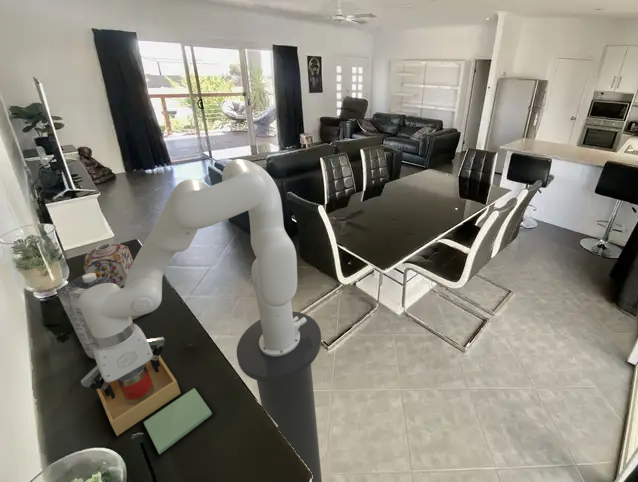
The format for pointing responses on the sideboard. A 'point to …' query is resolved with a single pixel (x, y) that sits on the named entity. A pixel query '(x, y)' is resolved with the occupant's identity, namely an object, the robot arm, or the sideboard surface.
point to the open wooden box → (128, 414)
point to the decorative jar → (109, 262)
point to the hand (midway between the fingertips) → (135, 381)
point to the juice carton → (70, 303)
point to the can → (136, 385)
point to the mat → (177, 420)
